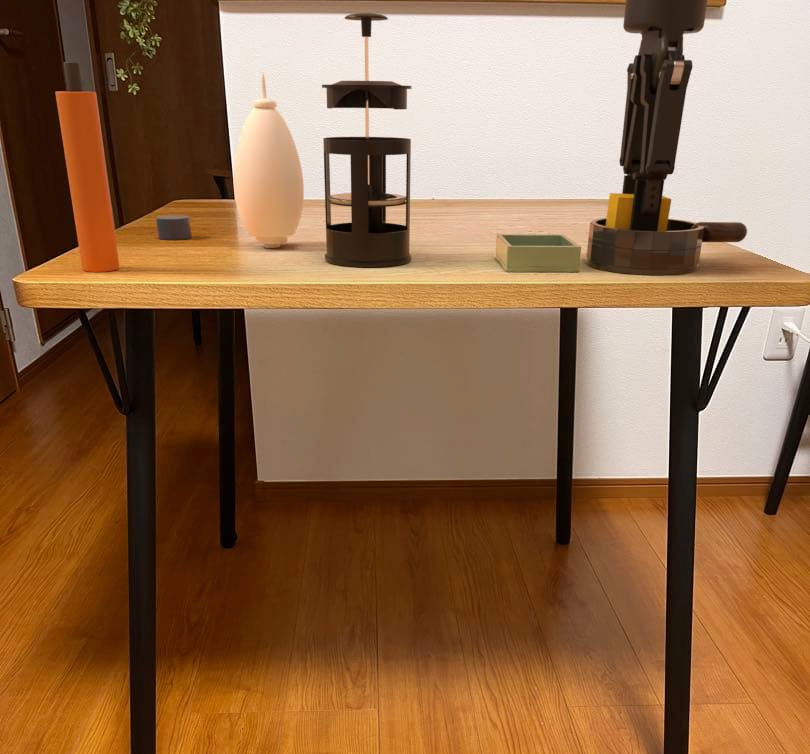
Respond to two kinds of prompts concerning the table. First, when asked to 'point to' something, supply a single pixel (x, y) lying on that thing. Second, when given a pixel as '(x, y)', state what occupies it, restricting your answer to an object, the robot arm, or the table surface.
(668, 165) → the robot arm
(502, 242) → the sponge dish
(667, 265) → the pan
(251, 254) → the table surface
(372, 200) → the french press
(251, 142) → the air blower bulb
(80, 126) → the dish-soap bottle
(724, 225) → the pan handle
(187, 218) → the steel-wool tin
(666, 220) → the sponge
